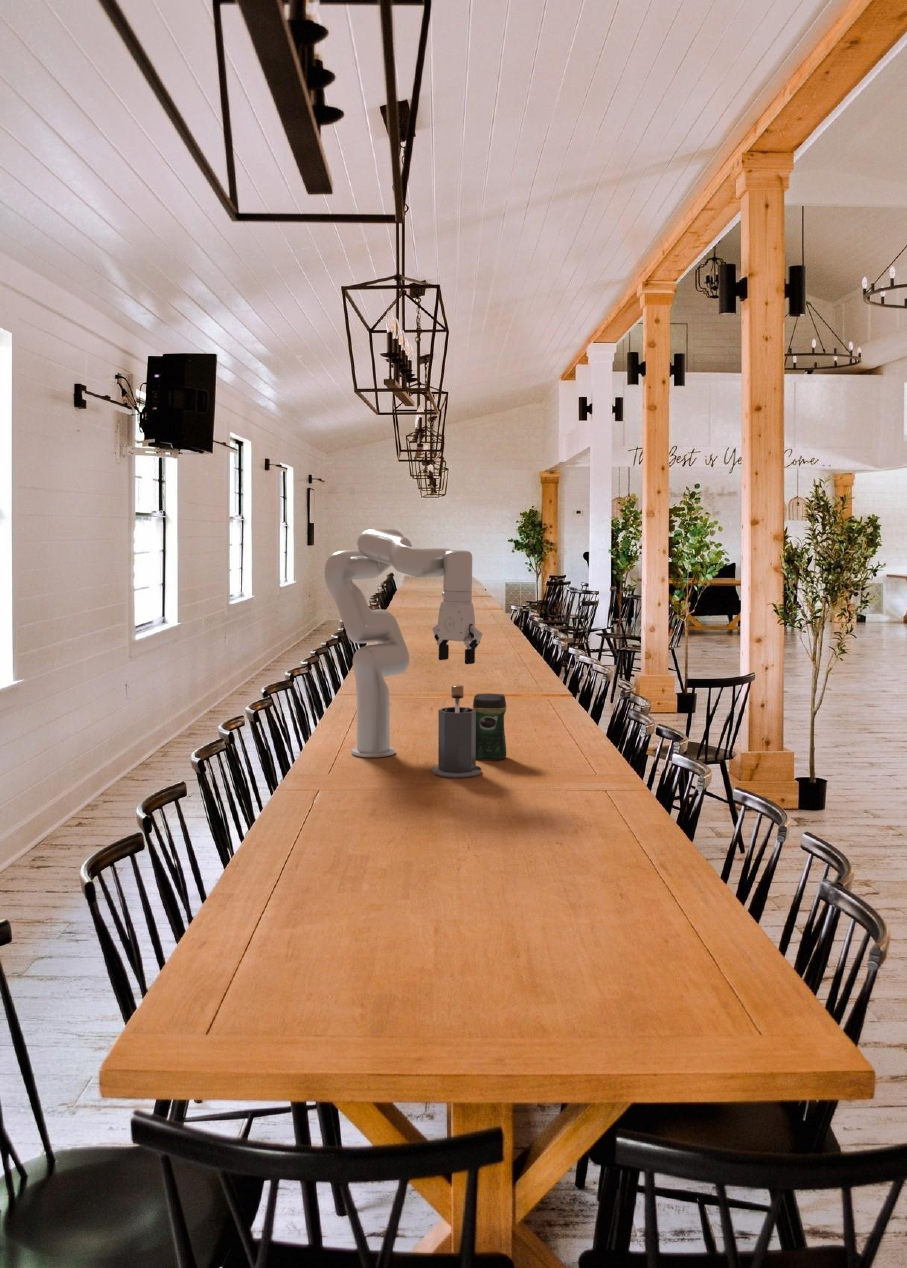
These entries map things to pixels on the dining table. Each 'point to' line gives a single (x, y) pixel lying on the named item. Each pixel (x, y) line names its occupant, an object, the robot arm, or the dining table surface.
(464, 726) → the press carafe
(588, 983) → the dining table surface
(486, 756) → the coffee jar
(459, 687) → the plunger
